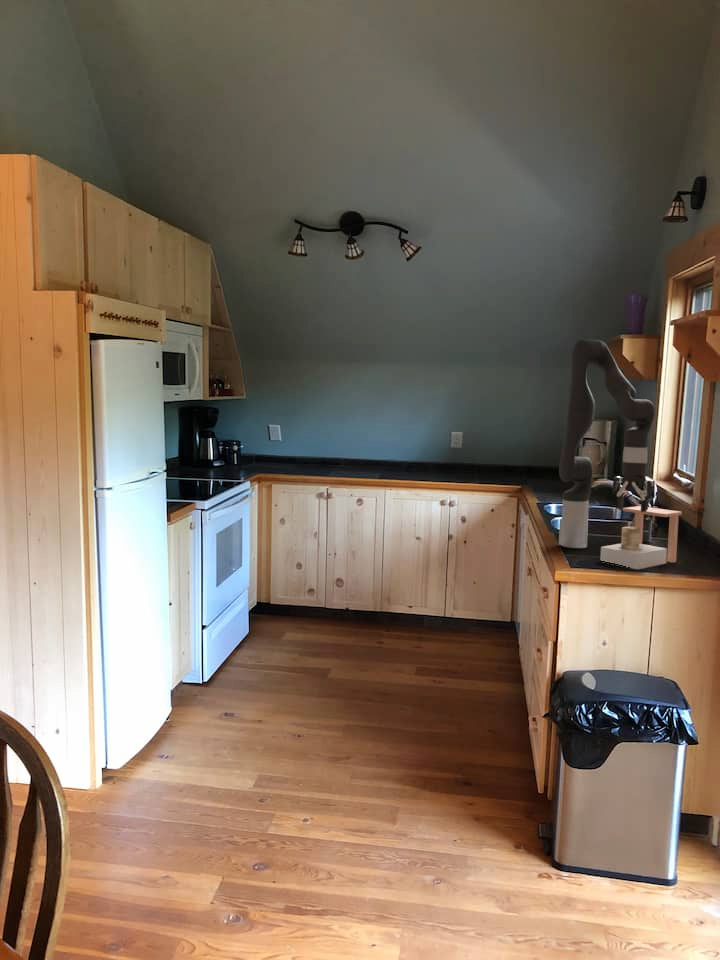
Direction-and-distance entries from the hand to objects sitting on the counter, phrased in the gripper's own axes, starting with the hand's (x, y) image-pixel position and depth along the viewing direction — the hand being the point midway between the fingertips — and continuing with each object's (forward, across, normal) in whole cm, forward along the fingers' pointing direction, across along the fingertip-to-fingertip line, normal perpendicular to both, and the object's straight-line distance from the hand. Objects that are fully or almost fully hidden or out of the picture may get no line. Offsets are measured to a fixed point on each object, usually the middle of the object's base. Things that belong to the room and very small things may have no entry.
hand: (632, 509), depth 242 cm
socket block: (+18, 0, +2) cm, 18 cm away
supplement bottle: (+19, -21, +38) cm, 47 cm away
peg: (+18, 0, 0) cm, 18 cm away
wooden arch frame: (+18, 0, +11) cm, 21 cm away
